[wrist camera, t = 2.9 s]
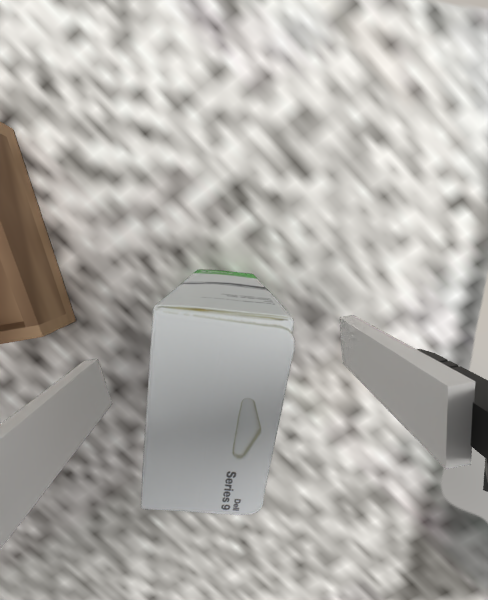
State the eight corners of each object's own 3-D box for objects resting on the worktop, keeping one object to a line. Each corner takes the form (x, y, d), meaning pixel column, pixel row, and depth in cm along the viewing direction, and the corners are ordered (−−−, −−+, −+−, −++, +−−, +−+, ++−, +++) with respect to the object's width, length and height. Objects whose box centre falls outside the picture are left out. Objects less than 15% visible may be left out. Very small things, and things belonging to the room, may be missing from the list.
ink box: (195, 266, 19) (144, 295, 7) (257, 274, 19) (303, 312, 8) (186, 367, 20) (133, 520, 9) (243, 372, 21) (264, 523, 9)
